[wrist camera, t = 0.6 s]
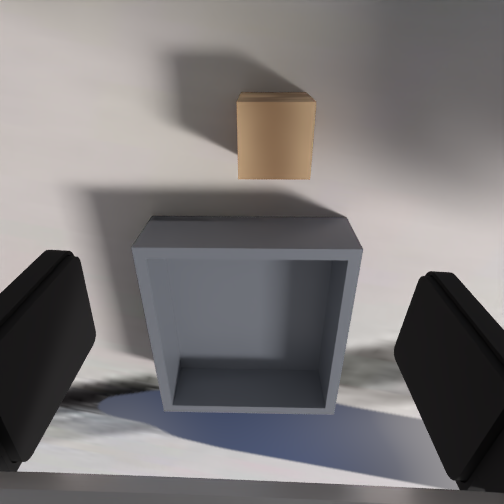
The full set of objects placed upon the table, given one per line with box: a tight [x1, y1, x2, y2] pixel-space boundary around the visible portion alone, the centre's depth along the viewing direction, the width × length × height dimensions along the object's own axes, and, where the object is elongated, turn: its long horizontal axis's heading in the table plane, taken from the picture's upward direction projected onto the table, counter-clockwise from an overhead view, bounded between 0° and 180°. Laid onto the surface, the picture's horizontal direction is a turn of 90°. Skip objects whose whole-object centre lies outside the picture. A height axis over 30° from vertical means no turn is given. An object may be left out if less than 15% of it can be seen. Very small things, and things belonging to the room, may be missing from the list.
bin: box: [131, 216, 363, 415], centre depth 35 cm, size 18×20×6 cm
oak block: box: [237, 92, 316, 179], centre depth 26 cm, size 5×5×6 cm
